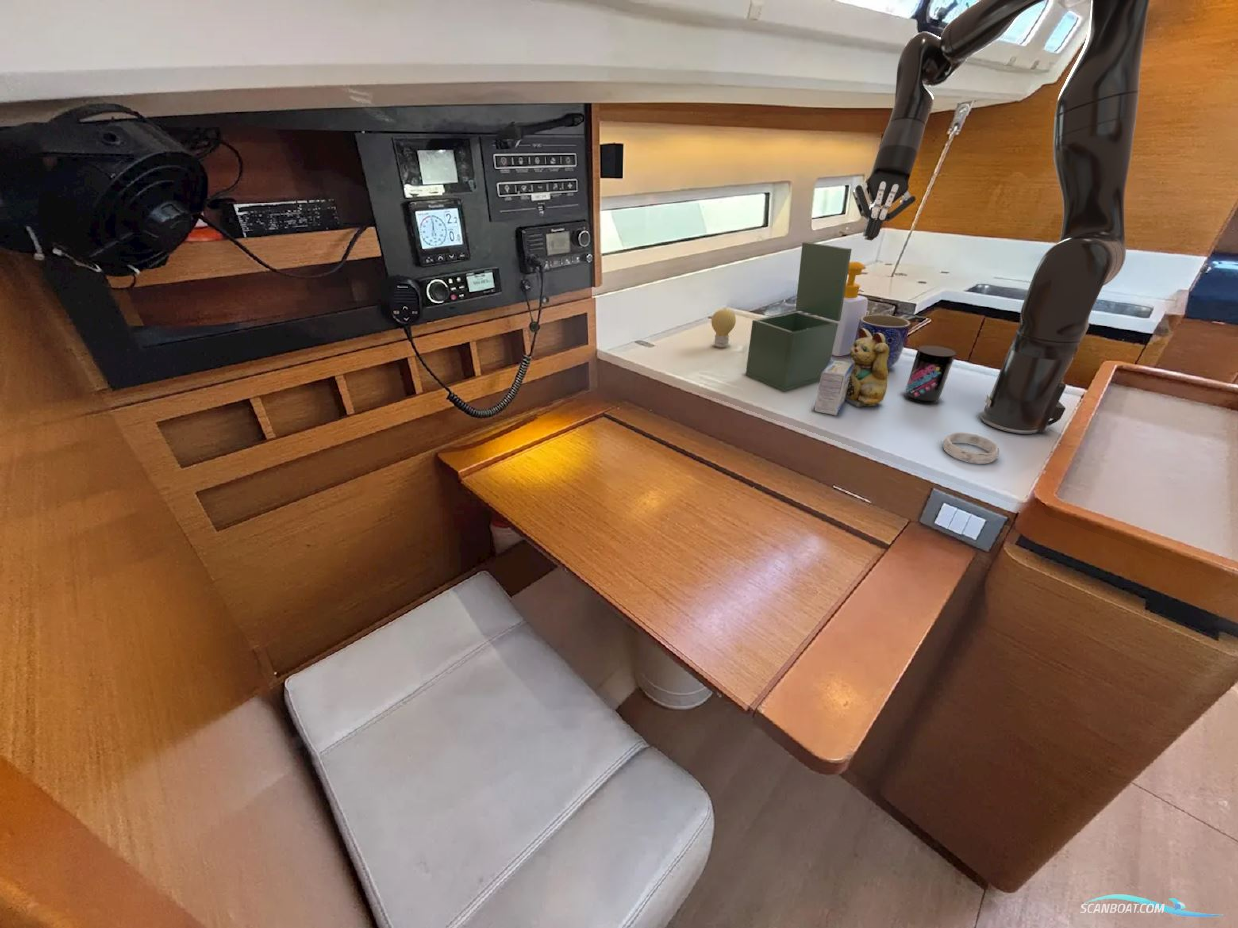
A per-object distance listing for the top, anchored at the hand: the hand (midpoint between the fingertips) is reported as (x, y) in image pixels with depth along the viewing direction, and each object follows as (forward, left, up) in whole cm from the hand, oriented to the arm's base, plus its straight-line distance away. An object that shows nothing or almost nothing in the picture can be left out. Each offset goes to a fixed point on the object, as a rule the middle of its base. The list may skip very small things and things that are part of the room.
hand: (869, 239), depth 107 cm
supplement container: (-16, +15, -29) cm, 36 cm away
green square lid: (+8, +6, -8) cm, 13 cm away
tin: (+12, +11, -29) cm, 33 cm away
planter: (-8, -3, -29) cm, 30 cm away
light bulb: (+30, -7, -29) cm, 43 cm away
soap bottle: (+2, -14, -29) cm, 33 cm away
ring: (-20, +38, -29) cm, 51 cm away
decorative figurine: (-4, +20, -29) cm, 35 cm away
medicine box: (+3, +25, -29) cm, 38 cm away
